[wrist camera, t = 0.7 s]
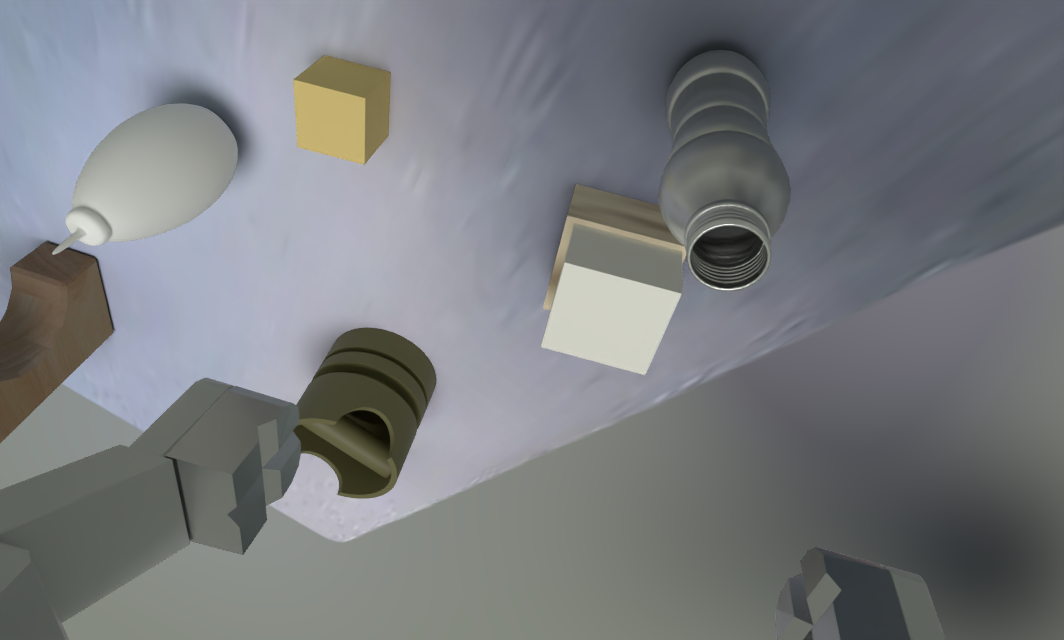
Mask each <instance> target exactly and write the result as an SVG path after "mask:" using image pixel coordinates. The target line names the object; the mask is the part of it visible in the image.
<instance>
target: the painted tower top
mask: <svg viewBox="0 0 1064 640" xmlns="http://www.w3.org/2000/svg"><path fill="white" fill-rule="evenodd" d="M681 294H682V251H678V250H674V249H671V248H667V247H663V246H659V245H656V244H652V243H648V242H644V241H641V240H637V239H633V238H629V237H626V236H622V235H618V234H614V233H611V232H607V231H603V230H599V229H596V228H592V227H588V226H584V225H581V224H577V223H574V227H573V231H572V234H571V238H570V241H569V245H568V248H567V252H566V256H565V259H564V263H563V266H562V270H561V274H560V277H559V281H558V284H557V288H556V291H555V295H554V299H553V302H552V306H551V310H550V314H549V318H548V321H547V325H546V329H545V333H544V337H543V341H542V345H541V347H543V348H547V349H550V350H554V351H558V352H561V353H565V354H569V355H572V356H576V357H580V358H584V359H587V360H591V361H595V362H598V363H602V364H606V365H610V366H613V367H617V368H621V369H624V370H628V371H632V372H636V373H639V374H643V375H645V374H646V372H647V370H648V368H649V365H650V363H651V361H652V359H653V357H654V354H655V352H656V350H657V348H658V345H659V343H660V341H661V339H662V337H663V334H664V332H665V330H666V328H667V325H668V323H669V321H670V319H671V317H672V314H673V312H674V310H675V308H676V305H677V303H678V301H679V299H680V297H681Z"/></svg>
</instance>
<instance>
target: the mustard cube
mask: <svg viewBox="0 0 1064 640" xmlns="http://www.w3.org/2000/svg"><path fill="white" fill-rule="evenodd" d="M390 79H391V72H387V71H383V70H379V69H376V68H372V67H368V66H364V65H360V64H356V63H353V62H349V61H345V60H341V59H337V58H333V57H330V56H326V55H324V56H323V57H321V58H320V59H319V60H318V61H316V62H315V63H314V64H313V65H311V66H310V67H309V68H307V69H306V70H305V71H304V72H302V73H301V74H300V75H299V76H297V77H296V78H295V79H293V81H294V97H295V113H296V129H297V145H298V147H299V148H303V149H307V150H311V151H314V152H318V153H322V154H326V155H330V156H333V157H337V158H341V159H345V160H349V161H352V162H356V163H360V164H364V165H365V163H366V162H367V161H368V160H369V159H370V157H371V156H372V155H373V154H374V152H375V151H376V150H377V149H378V148H379V146H380V145H381V144H382V143H383V141H384V140H385V139H386V138H387V137H388V130H389V104H390Z"/></svg>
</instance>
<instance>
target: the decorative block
mask: <svg viewBox="0 0 1064 640" xmlns="http://www.w3.org/2000/svg"><path fill="white" fill-rule="evenodd" d="M57 247H58V246H57V245H53V244H50V243H47V242H45V243H43V244H42V245H40V246H39V247H38V248H36V249H35V250H34V251H32V252H31V253H30V254H28V255H27V256H25V257H24V258H23V259H21V260H20V261H19V262H17V263H16V264H15V265H13V266H12V267H10V271H11V280H12V291H11V295H10V299H9V303H8V307H7V310H6V312H5V314H4V316H3V318H2V320H1V322H0V443H1V442H2V441H3V440H4V439H5V438H6V437H7V436H8V435H9V434H10V433H11V432H12V431H13V430H14V429H15V428H16V427H17V426H18V425H19V424H20V423H21V422H22V421H23V420H24V419H26V418H27V417H28V416H29V415H30V414H31V413H32V411H34V409H35V408H37V407H38V406H39V405H40V404H41V403H42V402H43V401H44V400H45V399H46V398H47V397H48V396H49V395H50V394H51V393H52V392H53V391H54V390H55V389H56V388H57V387H58V386H59V385H60V384H61V383H62V382H63V381H64V380H65V379H66V378H67V377H68V376H69V375H71V374H72V373H73V372H74V371H75V370H76V369H77V368H78V367H79V366H80V365H81V364H82V363H83V362H84V361H85V360H86V359H87V358H88V357H89V356H90V355H91V354H92V353H93V352H94V351H95V350H96V349H97V348H98V347H99V346H100V345H101V344H102V343H103V342H104V341H105V340H106V339H107V338H108V337H109V336H110V335H111V334H112V333H113V329H112V325H111V320H110V316H109V312H108V307H107V303H106V299H105V295H104V291H103V286H102V282H101V278H100V274H99V270H98V266H97V262H96V259H95V258H93V257H90V256H87V255H84V254H81V253H78V252H75V251H72V250H69V249H64V250H63V251H61V252H59V253H57V254H54V255H53V254H52V253H53V251H54V250H55V249H56V248H57Z"/></svg>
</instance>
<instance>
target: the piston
mask: <svg viewBox="0 0 1064 640" xmlns="http://www.w3.org/2000/svg"><path fill="white" fill-rule="evenodd" d="M435 386H436V374H435V370H434V367H433V365H432V363H431V362H430V360H429V358H428V357H427V356H426V355H425V353H424V352H423V351H422V350H421V349H420V348H418V347H417V346H416V345H415V344H413V343H412V342H411V341H409V340H407V339H406V338H404V337H402V336H400V335H398V334H395V333H393V332H390V331H386V330H382V329H377V328H358V329H354V330H350V331H348V332H346V333H344V334H343V335H341V336H340V337H339V338H338V339H337V340H336V342H335V343H334V345H333V347H332V348H331V350H330V351H329V353H328V355H327V356H326V358H325V360H324V361H323V363H322V364H321V366H320V368H319V369H318V371H317V372H316V374H315V376H314V378H313V380H312V382H311V383H310V384H309V385H308V387H307V389H306V390H305V392H304V393H303V395H302V397H301V398H300V400H299V402H298V403H297V406H298V409H299V420H300V422H299V423H298V424H297V426H296V427H295V429H294V430H293V432H294V433H295V435H296V436H297V437H298V439H299V440H300V441H301V453H308V454H312V455H315V456H317V457H319V458H321V459H322V460H324V461H325V462H326V463H328V464H329V465H330V466H331V467H332V469H333V470H334V471H335V473H336V475H337V477H338V480H339V491H338V494H337V495H340V496H345V497H350V498H374V497H378V496H381V495H384V494H386V493H387V492H389V491H390V490H391V489H392V488H393V487H394V485H395V483H396V481H397V479H398V476H399V474H400V471H401V469H402V467H403V464H404V462H405V459H406V457H407V454H408V452H409V450H410V447H411V445H412V442H413V440H414V438H415V435H416V432H417V429H418V427H419V425H420V423H421V421H422V418H423V416H424V413H425V411H426V408H427V406H428V404H429V401H430V399H431V396H432V394H433V391H434V389H435Z"/></svg>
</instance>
